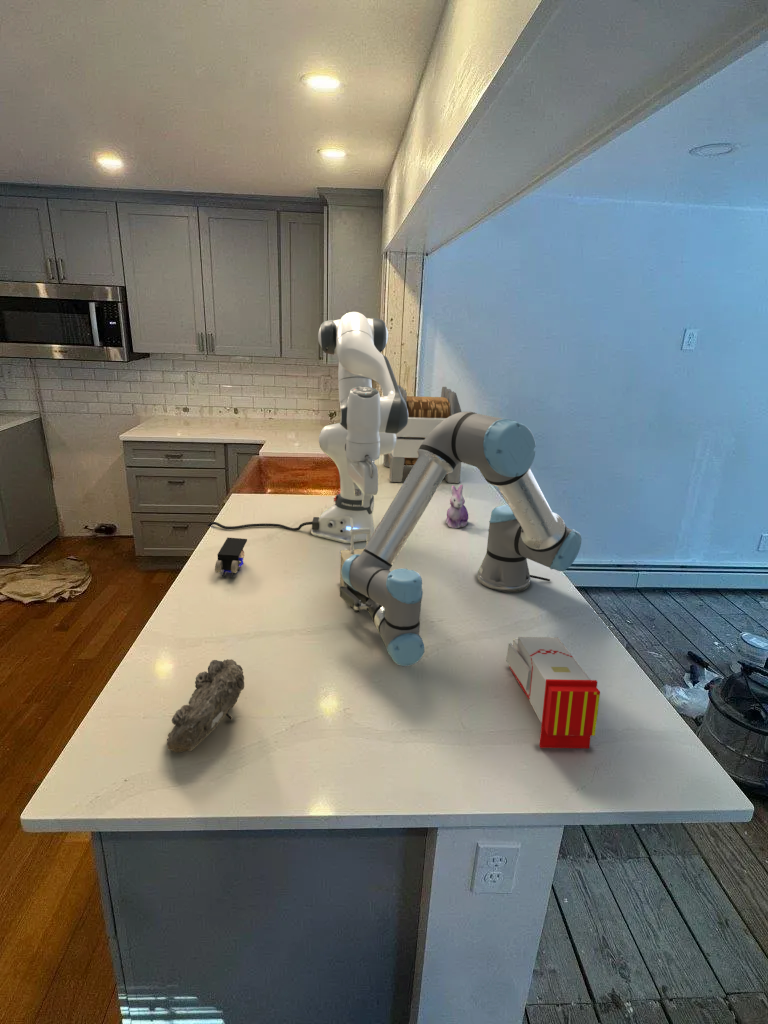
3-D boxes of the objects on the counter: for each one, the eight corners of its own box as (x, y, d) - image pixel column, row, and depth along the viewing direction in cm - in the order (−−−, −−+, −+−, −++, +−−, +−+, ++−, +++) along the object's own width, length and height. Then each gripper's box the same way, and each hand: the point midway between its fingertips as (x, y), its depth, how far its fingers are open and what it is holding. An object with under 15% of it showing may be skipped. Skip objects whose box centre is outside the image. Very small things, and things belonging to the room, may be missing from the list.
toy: (554, 620, 129) (609, 687, 99) (549, 674, 131) (601, 755, 102) (501, 619, 128) (541, 686, 99) (497, 673, 131) (534, 754, 102)
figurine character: (238, 584, 162) (249, 557, 175) (236, 562, 158) (247, 536, 172) (215, 584, 161) (227, 556, 175) (212, 561, 158) (225, 535, 171)
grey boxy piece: (382, 463, 289) (386, 382, 275) (445, 464, 293) (451, 384, 279) (390, 482, 257) (394, 392, 243) (460, 483, 261) (468, 394, 247)
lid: (340, 553, 159) (340, 526, 156) (375, 551, 162) (376, 524, 159) (351, 575, 146) (351, 546, 144) (388, 572, 149) (390, 543, 146)
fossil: (192, 660, 117) (244, 628, 112) (224, 691, 120) (276, 661, 115) (142, 746, 98) (202, 712, 93) (182, 779, 101) (242, 748, 96)
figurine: (453, 530, 205) (457, 490, 200) (438, 521, 213) (441, 482, 208) (475, 527, 209) (479, 488, 204) (459, 517, 217) (462, 480, 212)
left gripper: (385, 460, 140) (382, 513, 144) (365, 441, 158) (363, 489, 163) (360, 461, 138) (358, 514, 143) (343, 442, 156) (342, 490, 161)
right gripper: (341, 636, 131) (324, 591, 151) (433, 625, 137) (405, 584, 157) (341, 607, 128) (324, 565, 148) (435, 598, 134) (406, 559, 154)
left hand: (361, 500), depth 153 cm, fingers open, 8 cm apart
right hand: (366, 575), depth 152 cm, fingers closed on chest, 10 cm apart
